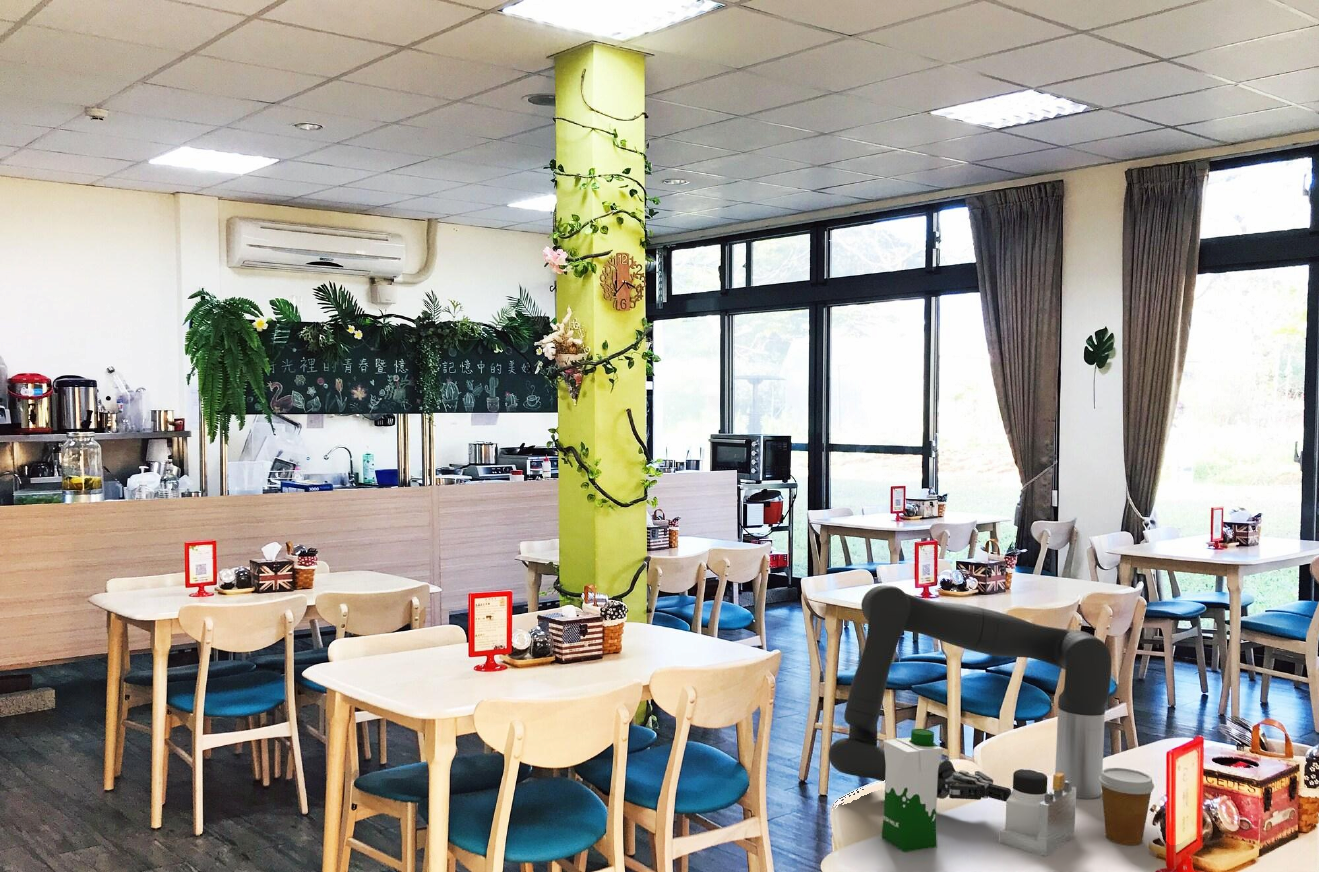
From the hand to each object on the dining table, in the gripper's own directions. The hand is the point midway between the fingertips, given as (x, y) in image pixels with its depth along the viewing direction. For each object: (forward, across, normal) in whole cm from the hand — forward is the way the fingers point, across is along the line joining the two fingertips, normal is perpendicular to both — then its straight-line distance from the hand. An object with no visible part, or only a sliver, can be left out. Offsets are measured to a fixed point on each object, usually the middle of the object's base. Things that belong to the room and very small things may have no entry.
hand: (1009, 795), depth 211 cm
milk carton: (-11, -19, +7) cm, 23 cm away
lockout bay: (+5, 0, +7) cm, 9 cm away
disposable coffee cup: (+17, +12, +7) cm, 22 cm away
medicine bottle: (+4, 0, +7) cm, 8 cm away
